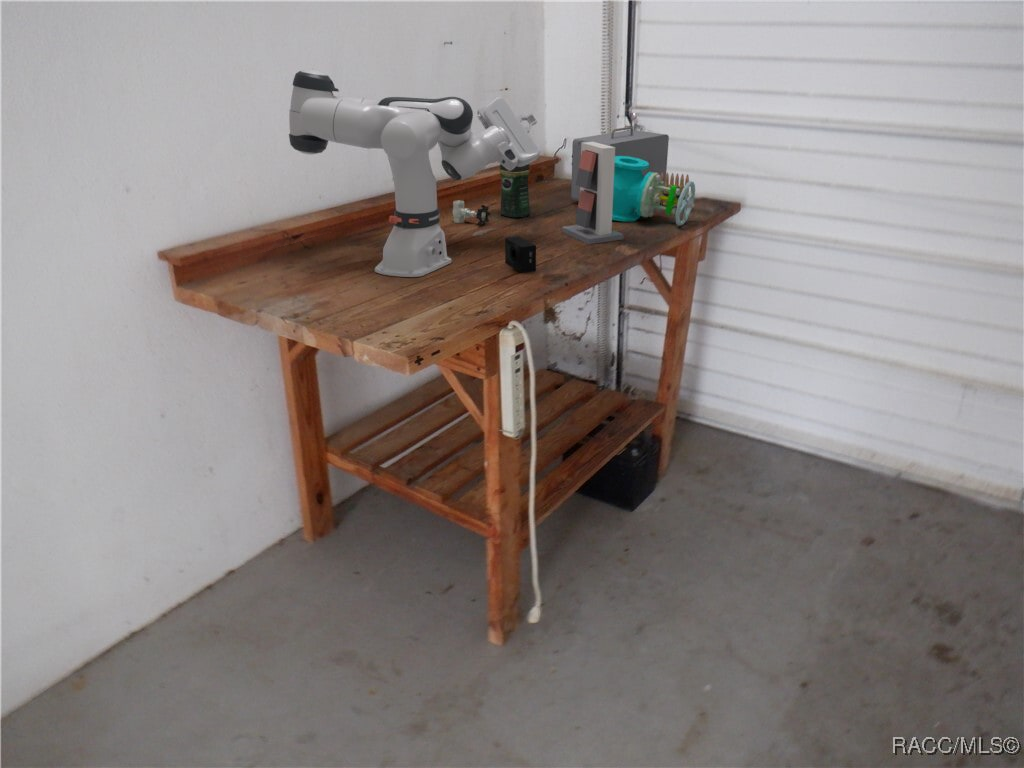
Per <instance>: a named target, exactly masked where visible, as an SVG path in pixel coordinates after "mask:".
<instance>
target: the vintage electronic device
mask: <svg viewBox="0 0 1024 768" xmlns="http://www.w3.org/2000/svg"><path fill="white" fill-rule="evenodd" d="M669 140H670V138H669V135H668V134H667V133H666V134H665V133H657V132H656V133H655V132H649V131H643V130H636V129H635V130H634V128H633V126H626V127H618V128H613V129H612V130H611V132H609V133H603V134H602V133H601V134H597V135H596V134H595V135H592V136H585V137H578V138H574V139H573V141H572V146H571V147H572V148H571V149H572V150H571V152H572V153H571V154H572V155H571V193H570V194H571V195H570V196H571V200H573V201H577V202H579V197H580V186H577V185H576V180H577V175H578V170H579V165H580V160H581V143H583V142H596V143H600V144H604V145H608V146H612V147H615V156H628V157H634V158H639V159H642V160H644V161H647V162H648V164H649V167H648V168H647V169H645V170H641V171H642V174H643V176H645V175H646V174H647V173H649V172H653V173H658V174H659V175H660V176H661V173H662V172H663V175H664V184H665V177H666V174H667V170H668V169H667V168H668V167H667V165H668V154H669V143H670V142H669Z"/></svg>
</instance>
